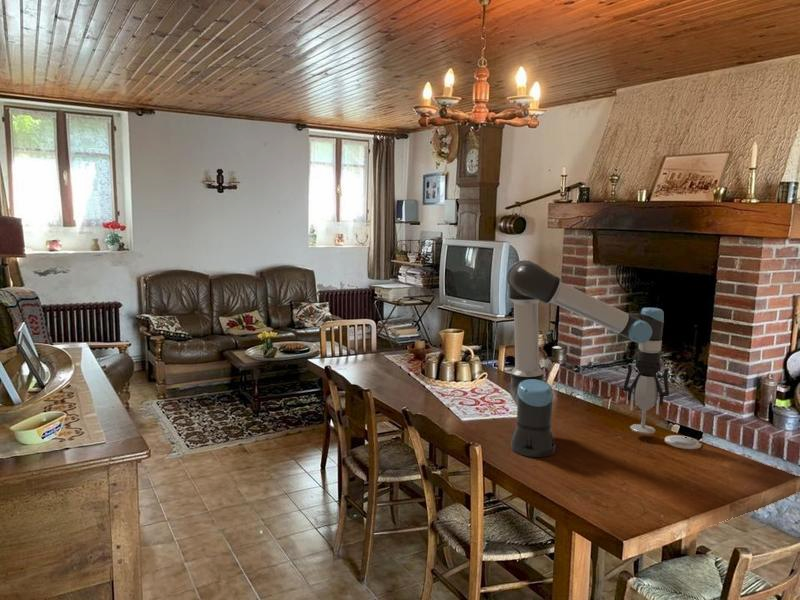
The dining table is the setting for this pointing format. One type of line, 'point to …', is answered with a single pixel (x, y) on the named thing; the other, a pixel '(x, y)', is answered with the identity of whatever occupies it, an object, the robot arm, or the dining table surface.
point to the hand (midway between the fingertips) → (644, 411)
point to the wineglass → (645, 401)
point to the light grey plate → (682, 442)
